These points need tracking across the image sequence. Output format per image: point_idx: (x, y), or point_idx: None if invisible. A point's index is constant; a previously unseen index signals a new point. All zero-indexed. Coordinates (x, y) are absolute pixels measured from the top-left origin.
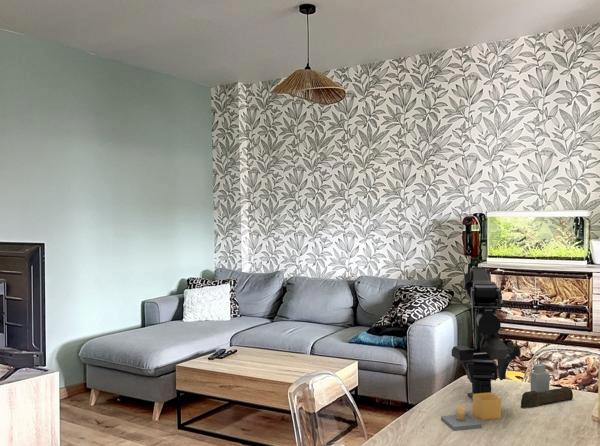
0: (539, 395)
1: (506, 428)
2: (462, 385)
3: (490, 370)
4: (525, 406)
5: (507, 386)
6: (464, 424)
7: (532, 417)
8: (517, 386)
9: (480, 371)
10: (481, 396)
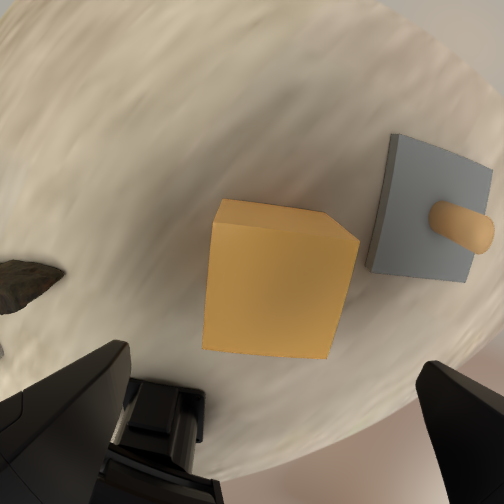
0: None
1: (288, 76)
2: None
3: (118, 483)
4: (48, 267)
5: None
6: (456, 168)
7: (79, 156)
8: None
9: (174, 496)
10: (312, 306)
